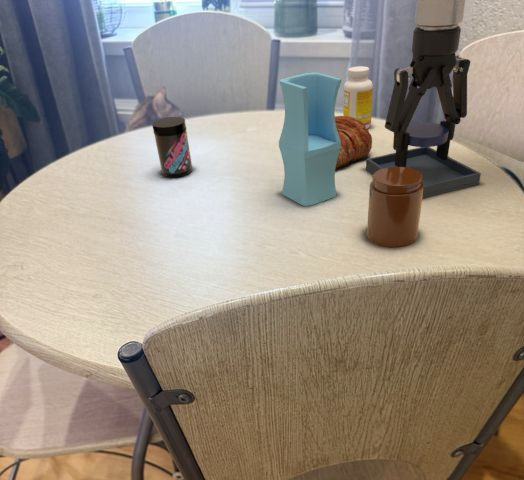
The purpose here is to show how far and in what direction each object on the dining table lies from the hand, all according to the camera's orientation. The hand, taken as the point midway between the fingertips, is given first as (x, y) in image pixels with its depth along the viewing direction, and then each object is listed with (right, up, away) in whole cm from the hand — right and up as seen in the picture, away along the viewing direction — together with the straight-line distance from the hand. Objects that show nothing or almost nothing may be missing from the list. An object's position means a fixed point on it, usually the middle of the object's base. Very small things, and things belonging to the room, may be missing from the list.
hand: (421, 162), depth 102 cm
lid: (0, +4, -3) cm, 6 cm away
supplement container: (-49, +2, +13) cm, 51 cm away
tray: (0, -2, +2) cm, 3 cm away
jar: (-9, -17, -15) cm, 25 cm away
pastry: (-13, +6, +13) cm, 20 cm away
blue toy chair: (-21, -7, -1) cm, 22 cm away
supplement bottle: (-8, +18, +27) cm, 33 cm away
